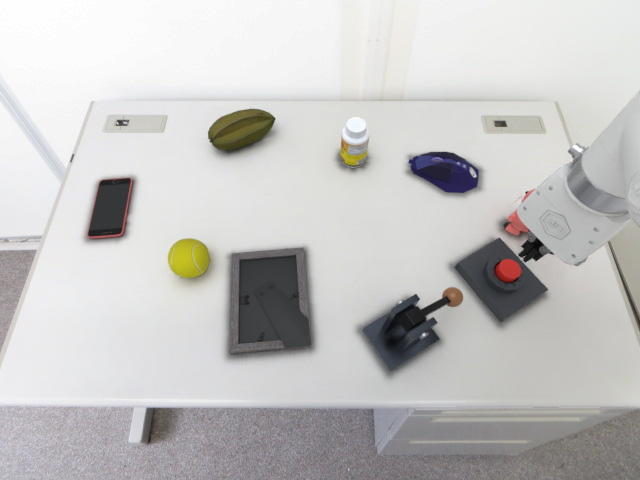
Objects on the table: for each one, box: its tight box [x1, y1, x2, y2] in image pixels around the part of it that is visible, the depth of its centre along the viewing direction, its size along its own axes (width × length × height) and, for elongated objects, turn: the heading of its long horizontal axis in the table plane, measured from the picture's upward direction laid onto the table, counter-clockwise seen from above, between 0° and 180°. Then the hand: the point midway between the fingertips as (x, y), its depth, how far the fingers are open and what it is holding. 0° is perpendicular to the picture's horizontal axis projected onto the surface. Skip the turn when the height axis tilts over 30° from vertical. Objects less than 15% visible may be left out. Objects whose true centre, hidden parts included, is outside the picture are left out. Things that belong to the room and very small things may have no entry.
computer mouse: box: [408, 151, 480, 194], centre depth 78 cm, size 9×15×4 cm, turn 75°
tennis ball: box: [167, 237, 211, 279], centre depth 67 cm, size 7×7×7 cm
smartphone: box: [86, 177, 133, 239], centre depth 76 cm, size 7×1×14 cm
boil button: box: [495, 259, 521, 282], centre depth 64 cm, size 4×4×2 cm
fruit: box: [207, 108, 276, 151], centre depth 81 cm, size 11×12×7 cm
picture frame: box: [228, 247, 312, 356], centre depth 66 cm, size 13×2×18 cm
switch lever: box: [398, 286, 464, 332], centre depth 58 cm, size 13×3×3 cm, turn 121°
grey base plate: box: [454, 237, 549, 323], centre depth 66 cm, size 12×10×4 cm
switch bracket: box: [362, 293, 441, 373], centre depth 58 cm, size 10×8×12 cm
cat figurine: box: [502, 188, 536, 236], centre depth 68 cm, size 7×7×12 cm
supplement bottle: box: [340, 116, 371, 169], centre depth 77 cm, size 6×6×10 cm
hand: (528, 254), depth 58 cm, fingers closed
